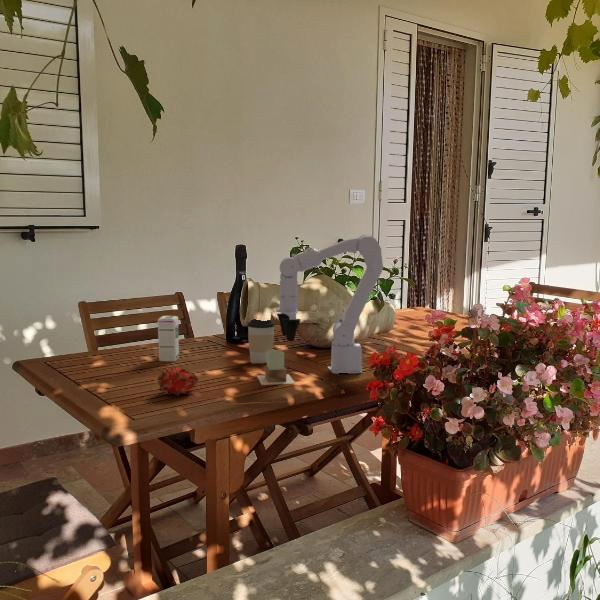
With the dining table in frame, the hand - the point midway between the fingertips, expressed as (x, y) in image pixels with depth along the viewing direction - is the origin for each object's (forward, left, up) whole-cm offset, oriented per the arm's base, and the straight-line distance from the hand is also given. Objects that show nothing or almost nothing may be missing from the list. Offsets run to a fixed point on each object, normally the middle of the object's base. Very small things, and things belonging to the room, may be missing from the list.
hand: (288, 338), depth 207 cm
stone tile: (+6, +12, -10) cm, 17 cm away
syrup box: (+37, -19, -11) cm, 43 cm away
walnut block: (+6, +12, -10) cm, 17 cm away
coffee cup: (+7, -11, -11) cm, 17 cm away
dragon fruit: (+35, +20, -11) cm, 42 cm away
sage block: (+6, +12, -6) cm, 15 cm away
